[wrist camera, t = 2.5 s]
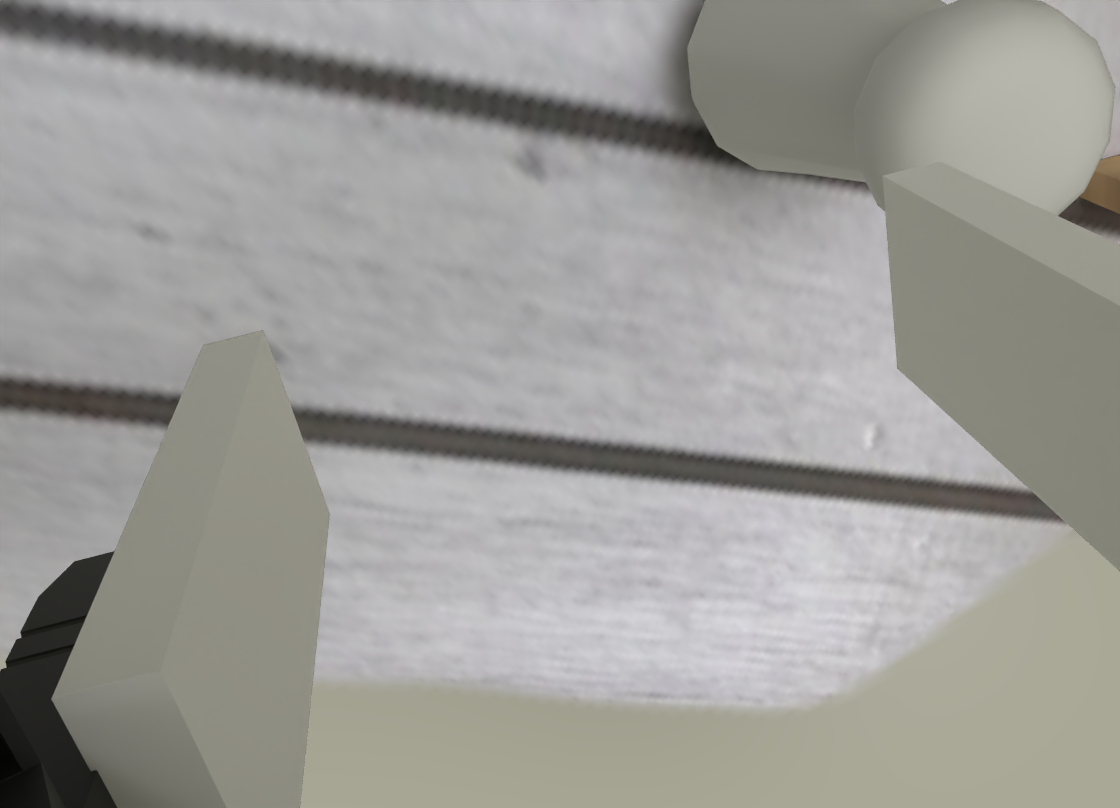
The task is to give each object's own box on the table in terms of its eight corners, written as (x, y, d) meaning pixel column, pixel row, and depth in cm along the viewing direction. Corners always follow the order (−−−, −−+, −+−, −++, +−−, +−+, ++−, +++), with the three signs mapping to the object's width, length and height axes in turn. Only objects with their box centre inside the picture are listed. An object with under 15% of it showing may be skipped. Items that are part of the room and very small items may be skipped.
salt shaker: (700, 184, 31) (889, 351, 19) (638, -16, 28) (811, 38, 17) (891, 107, 31) (1196, 228, 19) (845, -100, 28) (1165, -106, 17)
